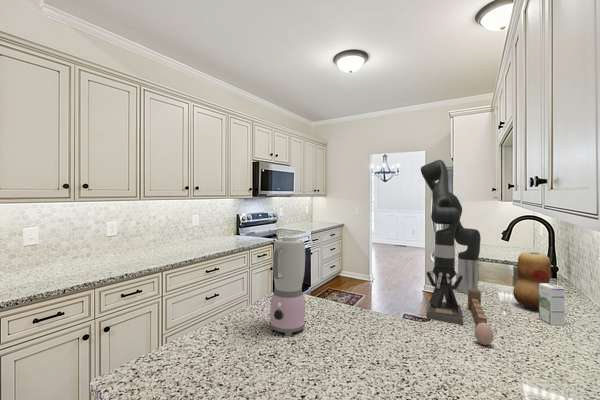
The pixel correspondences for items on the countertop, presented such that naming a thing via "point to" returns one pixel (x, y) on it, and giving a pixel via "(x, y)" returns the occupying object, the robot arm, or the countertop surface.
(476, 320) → the door-edge rail
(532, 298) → the butternut squash
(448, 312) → the silver shallow tray
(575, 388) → the countertop surface
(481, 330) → the egg
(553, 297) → the syrup box
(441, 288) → the phone stand
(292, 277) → the blender
